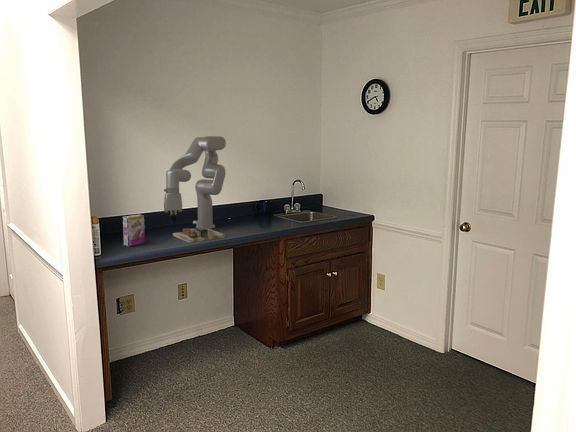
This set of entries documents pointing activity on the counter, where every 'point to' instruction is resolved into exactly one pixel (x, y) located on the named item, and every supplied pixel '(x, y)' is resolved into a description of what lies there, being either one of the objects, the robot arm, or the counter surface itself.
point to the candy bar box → (133, 230)
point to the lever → (190, 232)
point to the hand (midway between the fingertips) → (173, 221)
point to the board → (199, 236)
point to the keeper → (203, 232)
